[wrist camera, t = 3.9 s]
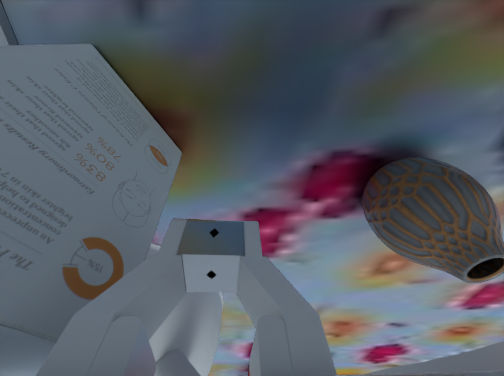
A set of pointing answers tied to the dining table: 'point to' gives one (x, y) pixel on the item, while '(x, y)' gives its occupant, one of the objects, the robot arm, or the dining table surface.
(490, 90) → the dining table surface
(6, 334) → the small box
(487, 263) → the vase
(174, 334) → the kettle
